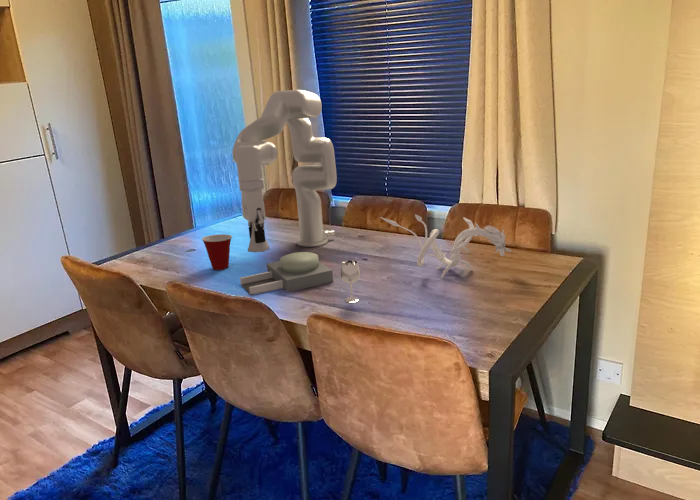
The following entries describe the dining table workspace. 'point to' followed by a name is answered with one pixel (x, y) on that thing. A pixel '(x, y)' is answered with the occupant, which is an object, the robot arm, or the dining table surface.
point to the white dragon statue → (456, 243)
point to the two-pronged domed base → (289, 274)
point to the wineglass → (350, 276)
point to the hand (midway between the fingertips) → (257, 239)
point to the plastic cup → (218, 250)
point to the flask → (257, 246)
